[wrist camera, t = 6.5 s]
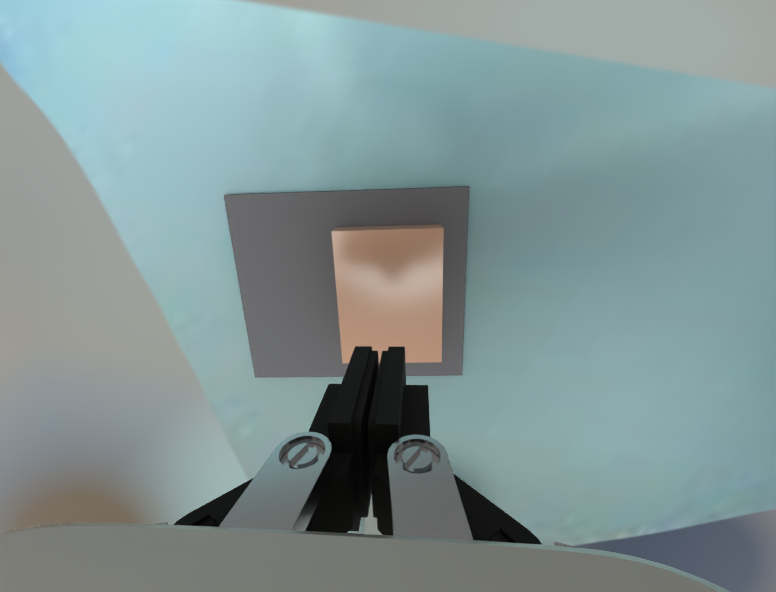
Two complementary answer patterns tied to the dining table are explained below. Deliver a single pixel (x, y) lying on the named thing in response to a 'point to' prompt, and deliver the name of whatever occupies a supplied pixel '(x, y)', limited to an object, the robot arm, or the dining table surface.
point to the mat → (332, 271)
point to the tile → (390, 289)
